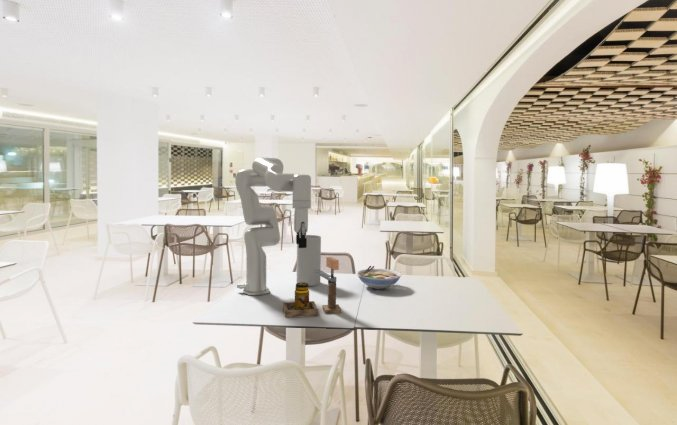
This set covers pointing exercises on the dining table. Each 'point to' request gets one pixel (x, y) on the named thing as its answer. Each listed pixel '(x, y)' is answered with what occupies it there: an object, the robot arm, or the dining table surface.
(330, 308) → the frame
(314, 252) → the cylinder vase
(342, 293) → the dining table surface
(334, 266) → the t key
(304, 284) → the condiment
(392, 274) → the ramen bowl
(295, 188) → the robot arm
